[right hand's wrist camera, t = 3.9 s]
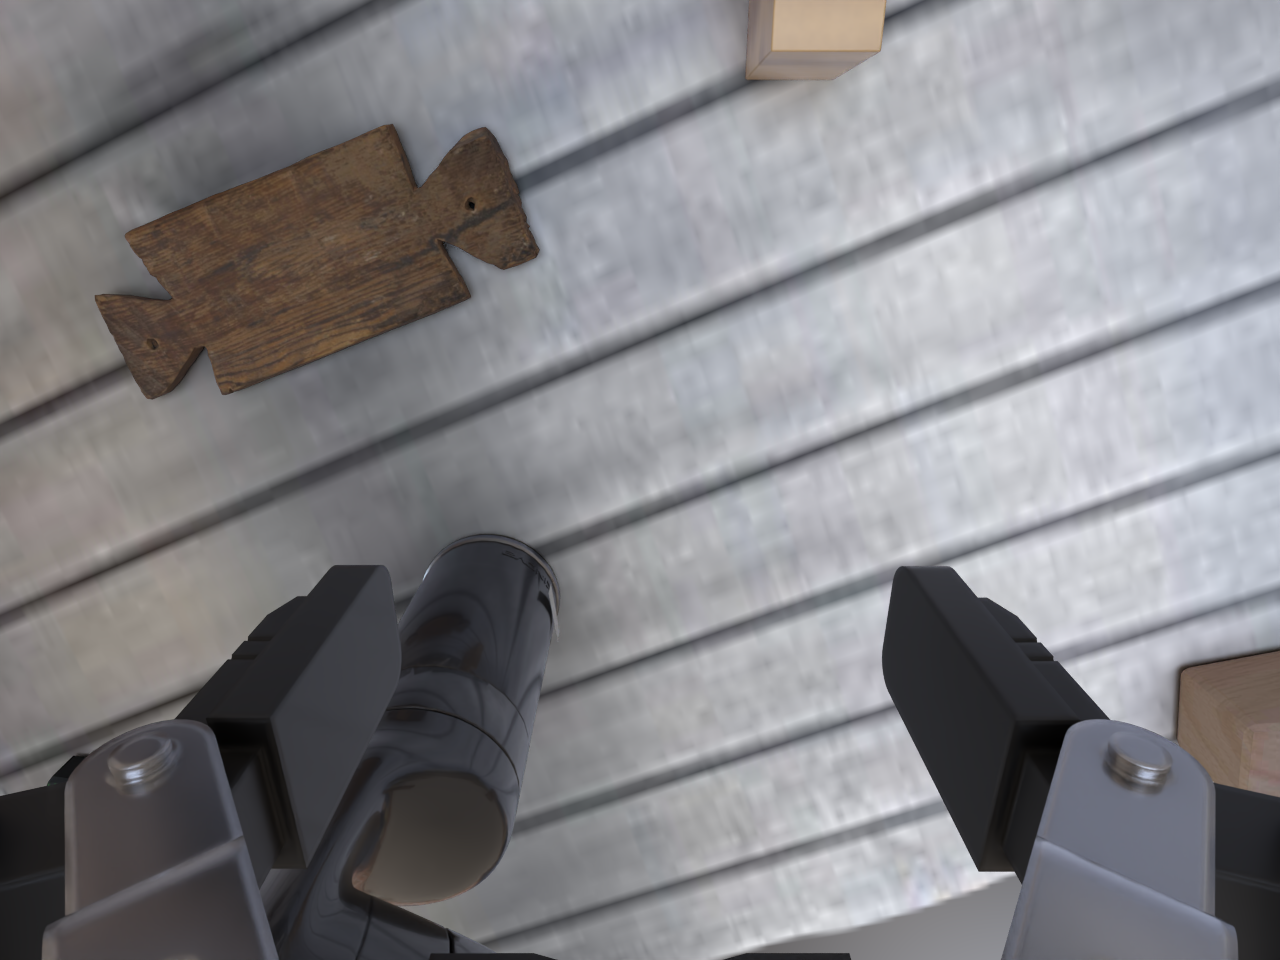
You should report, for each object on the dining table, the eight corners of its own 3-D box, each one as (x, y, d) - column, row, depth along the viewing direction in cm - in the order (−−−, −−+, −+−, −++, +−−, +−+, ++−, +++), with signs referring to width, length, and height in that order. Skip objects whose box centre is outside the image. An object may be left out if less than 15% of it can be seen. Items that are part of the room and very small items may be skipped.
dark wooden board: (74, 258, 41) (173, 414, 44) (51, 261, 39) (156, 422, 43) (479, 87, 37) (551, 271, 41) (472, 82, 36) (547, 274, 39)
